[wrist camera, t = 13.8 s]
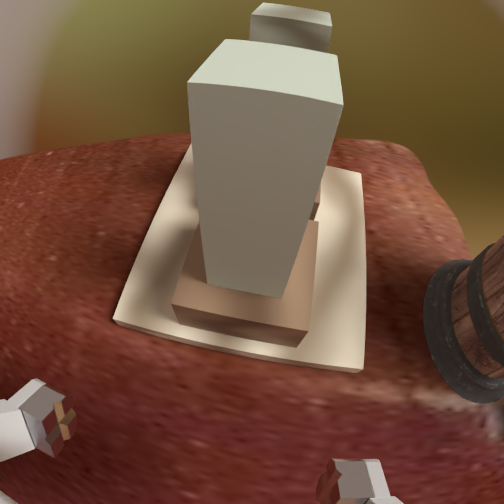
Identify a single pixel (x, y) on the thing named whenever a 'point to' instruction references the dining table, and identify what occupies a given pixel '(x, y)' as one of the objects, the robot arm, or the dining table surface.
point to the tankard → (468, 324)
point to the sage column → (259, 156)
